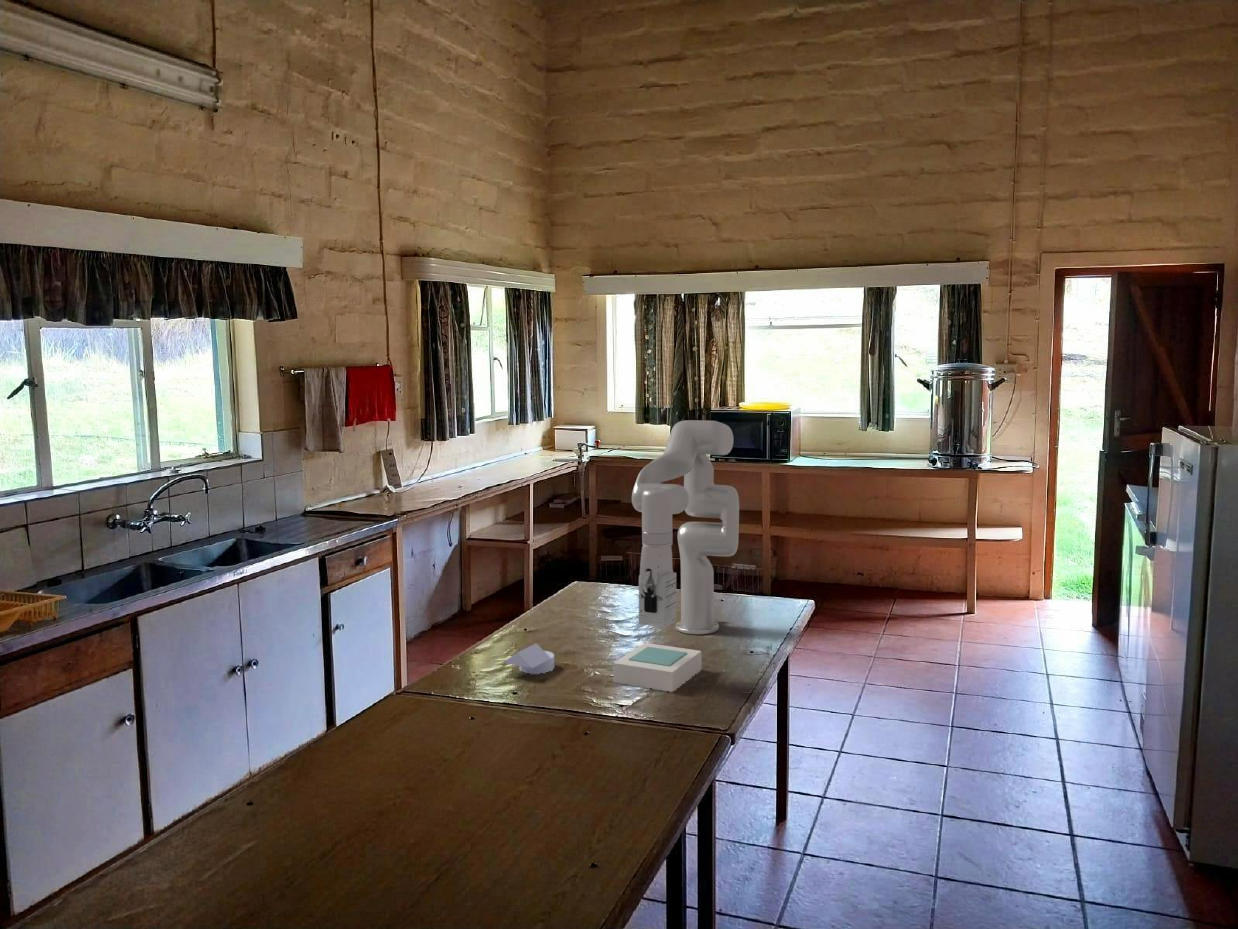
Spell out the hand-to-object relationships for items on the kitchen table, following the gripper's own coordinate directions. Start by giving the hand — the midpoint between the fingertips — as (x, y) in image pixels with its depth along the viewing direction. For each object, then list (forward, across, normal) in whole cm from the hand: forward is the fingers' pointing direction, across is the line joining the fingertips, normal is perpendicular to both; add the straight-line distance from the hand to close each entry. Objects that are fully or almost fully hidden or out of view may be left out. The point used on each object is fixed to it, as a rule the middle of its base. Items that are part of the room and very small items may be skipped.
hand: (657, 607), depth 244 cm
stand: (+18, 0, 0) cm, 18 cm away
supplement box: (+4, 0, 0) cm, 4 cm away
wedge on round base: (+18, +10, -31) cm, 37 cm away
